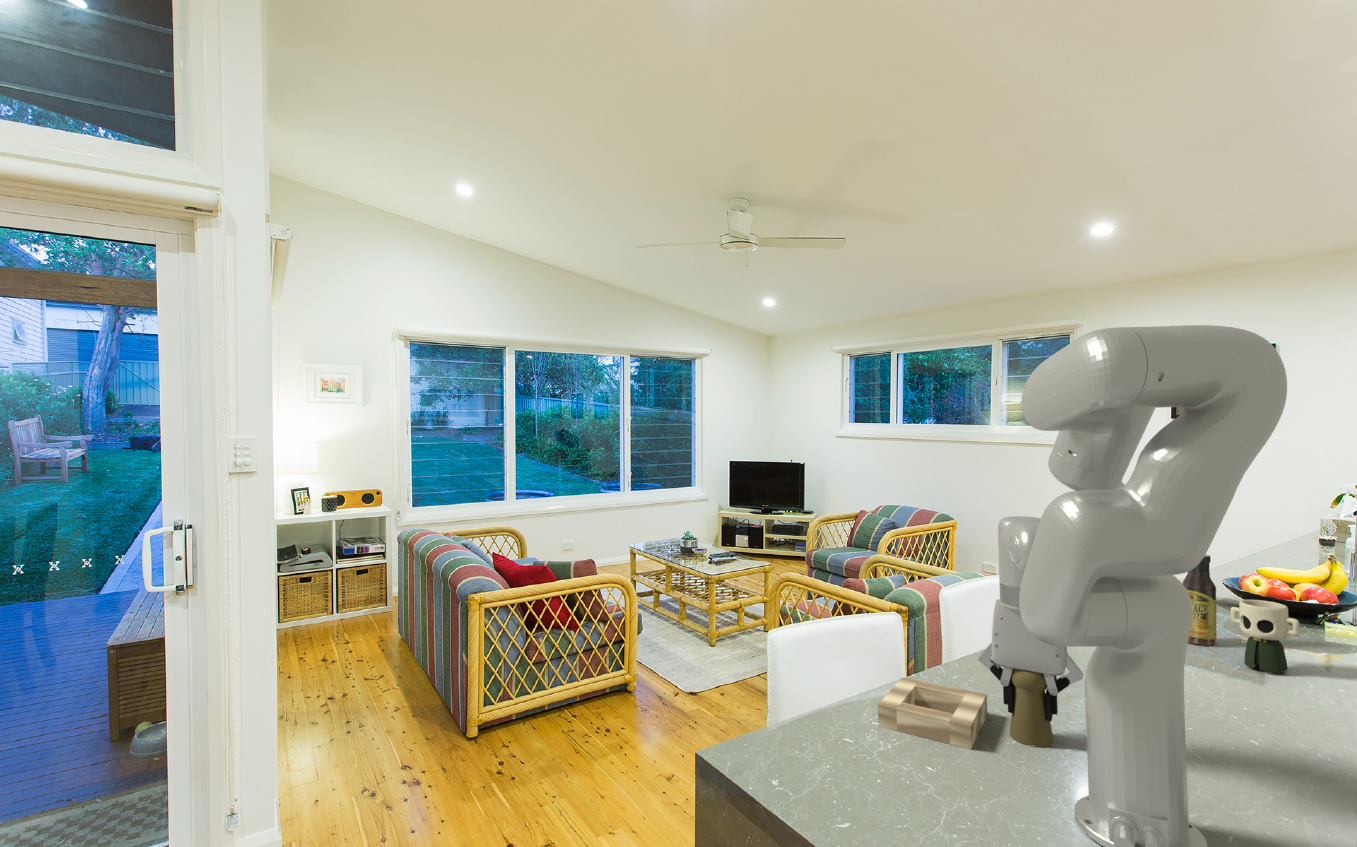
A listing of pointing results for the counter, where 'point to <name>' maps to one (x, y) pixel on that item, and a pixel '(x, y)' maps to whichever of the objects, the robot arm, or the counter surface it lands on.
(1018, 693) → the cork
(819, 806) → the counter surface
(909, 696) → the socket block
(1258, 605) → the character mug
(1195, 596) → the sauce bottle
